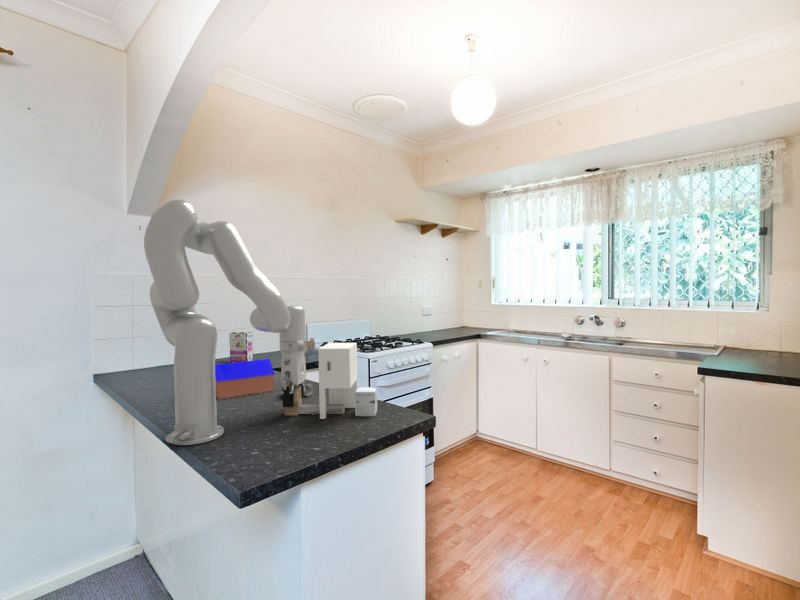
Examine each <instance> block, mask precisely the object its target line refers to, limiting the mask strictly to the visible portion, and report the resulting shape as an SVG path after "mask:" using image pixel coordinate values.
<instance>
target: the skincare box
mask: <svg viewBox="0 0 800 600" xmlns="http://www.w3.org/2000/svg"><path fill="white" fill-rule="evenodd" d="M354 410H355V414H354V415H355V417H375V416H376V415H377V412H378V386H377V387H374V386H373V387H370V386H369V387H368V386H367V387H365V386H363V387H361V386H360V387H358V389H357V390H356V392H355V408H354Z"/></svg>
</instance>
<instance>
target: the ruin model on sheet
mask: <svg viewBox="0 0 800 600" xmlns="http://www.w3.org/2000/svg"><path fill="white" fill-rule="evenodd" d="M315 353H316V342H315V339H314V337H310V338H309V340H305V351H304V354H305V355H307V354H308V355H309V354H315Z"/></svg>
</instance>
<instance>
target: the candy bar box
mask: <svg viewBox="0 0 800 600" xmlns="http://www.w3.org/2000/svg"><path fill="white" fill-rule="evenodd" d="M253 355H254V354H253V332H252V331H231V332H229V363H230V362H244V361H254V359H253V358H254V357H253Z"/></svg>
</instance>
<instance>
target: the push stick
mask: <svg viewBox="0 0 800 600" xmlns="http://www.w3.org/2000/svg"><path fill="white" fill-rule="evenodd" d="M290 387H291V386H289V388H290ZM292 393H294V406H293V407H283V408H284V416H299V415H298V414H307V415H306V416H309V415H308V414H312V415H311V416H313V415H314V414H320V403H315V404H313V403H310V404H309V403H303V404H302V398H301V386H294V388H293V392H292ZM343 413H346V412H345V408H344V404H329V403H326V414H342V415H341V416H343V415H344V414H343ZM314 416H315V415H314Z"/></svg>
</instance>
